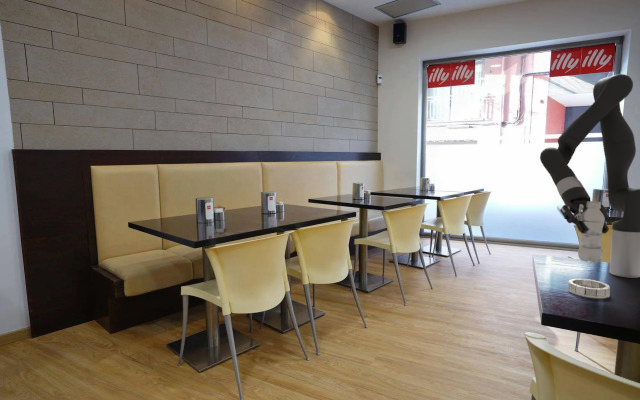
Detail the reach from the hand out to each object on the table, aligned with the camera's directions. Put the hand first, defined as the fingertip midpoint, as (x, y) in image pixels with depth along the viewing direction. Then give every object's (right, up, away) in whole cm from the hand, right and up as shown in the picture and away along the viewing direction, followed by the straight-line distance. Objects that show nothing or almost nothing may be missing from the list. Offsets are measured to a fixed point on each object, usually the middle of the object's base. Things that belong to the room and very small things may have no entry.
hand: (595, 232), depth 122 cm
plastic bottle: (0, -10, +3) cm, 11 cm away
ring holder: (0, -21, +4) cm, 21 cm away
